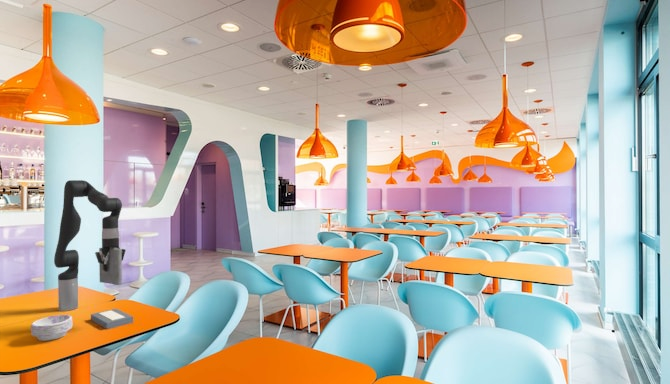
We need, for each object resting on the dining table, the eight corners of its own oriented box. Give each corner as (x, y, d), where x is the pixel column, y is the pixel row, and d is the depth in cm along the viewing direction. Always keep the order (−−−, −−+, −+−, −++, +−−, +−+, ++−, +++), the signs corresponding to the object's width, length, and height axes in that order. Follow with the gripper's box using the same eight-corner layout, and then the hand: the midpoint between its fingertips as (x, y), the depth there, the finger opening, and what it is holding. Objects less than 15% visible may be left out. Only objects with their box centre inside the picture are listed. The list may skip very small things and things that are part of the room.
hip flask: (98, 282, 199) (97, 243, 199) (106, 280, 202) (105, 242, 202) (117, 285, 191) (116, 244, 191) (124, 283, 195) (124, 243, 195)
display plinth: (90, 320, 199) (90, 313, 199) (115, 314, 208) (115, 308, 208) (107, 329, 185) (107, 322, 185) (133, 322, 194) (133, 316, 194)
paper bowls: (24, 345, 166) (24, 327, 166) (40, 333, 181) (40, 316, 181) (64, 341, 171) (64, 323, 171) (77, 329, 185) (77, 313, 185)
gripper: (122, 235, 205) (122, 267, 205) (92, 237, 194) (92, 272, 194) (128, 236, 200) (128, 269, 200) (97, 239, 189) (98, 273, 189)
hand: (110, 270), depth 197 cm, fingers closed on hip flask, 4 cm apart
